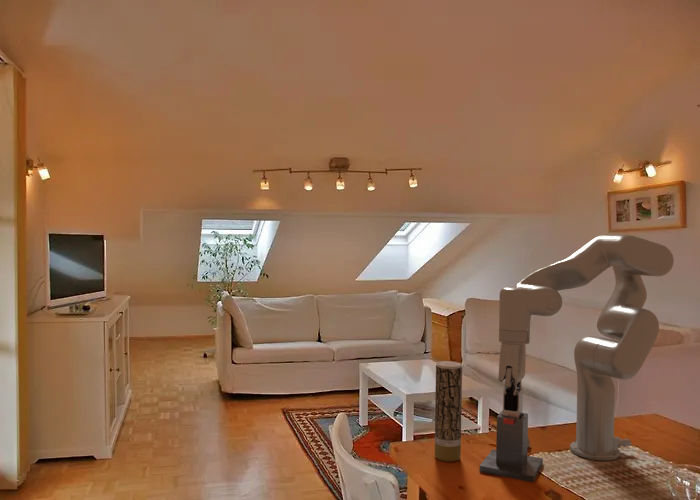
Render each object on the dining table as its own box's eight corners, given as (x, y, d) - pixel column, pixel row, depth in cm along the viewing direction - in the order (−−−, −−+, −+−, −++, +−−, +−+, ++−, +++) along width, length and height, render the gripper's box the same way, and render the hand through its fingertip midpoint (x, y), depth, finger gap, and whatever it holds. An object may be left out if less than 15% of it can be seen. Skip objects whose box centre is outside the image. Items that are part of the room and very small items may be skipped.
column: (505, 454, 151) (506, 385, 150) (521, 458, 149) (523, 388, 148) (501, 460, 147) (502, 389, 147) (518, 463, 145) (519, 391, 145)
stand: (492, 454, 157) (493, 404, 157) (542, 464, 151) (543, 412, 150) (479, 471, 145) (480, 418, 145) (533, 482, 139) (534, 426, 139)
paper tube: (460, 463, 150) (462, 367, 150) (433, 461, 152) (435, 366, 151) (460, 454, 157) (462, 361, 156) (435, 452, 158) (436, 360, 158)
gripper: (506, 330, 156) (505, 398, 157) (490, 339, 142) (489, 414, 142) (535, 332, 153) (534, 402, 153) (522, 342, 138) (521, 419, 139)
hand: (512, 407), depth 148 cm, fingers closed on column, 4 cm apart
